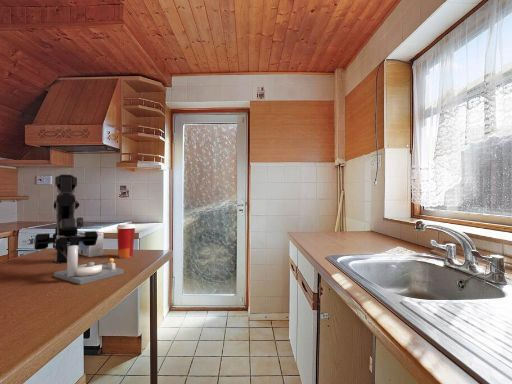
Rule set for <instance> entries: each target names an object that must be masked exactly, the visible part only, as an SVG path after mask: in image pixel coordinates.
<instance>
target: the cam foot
mask: <svg viewBox="0 0 512 384" xmlns="http://www.w3.org/2000/svg"><path fill="white" fill-rule="evenodd" d="M78 259H79V246H78V245H71V246H68V253H67V262H66V270H67V276H68V277H73V276H89V275H95V274H98V273H101V272H102V265H107V263H109V260H105V261H102V262H101V261H100V262H94V261H89V262H86V263H83V264H78V262H79V261H78ZM101 264H102V265H101Z"/></svg>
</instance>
